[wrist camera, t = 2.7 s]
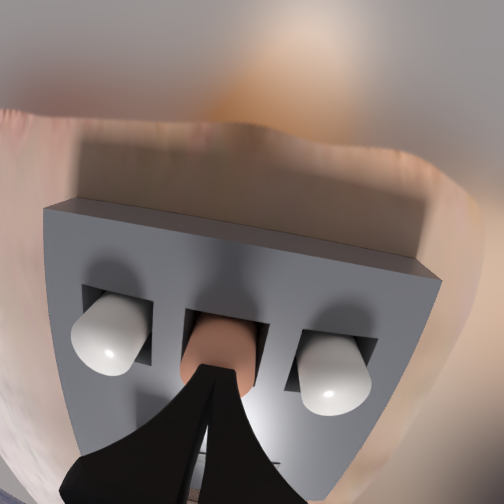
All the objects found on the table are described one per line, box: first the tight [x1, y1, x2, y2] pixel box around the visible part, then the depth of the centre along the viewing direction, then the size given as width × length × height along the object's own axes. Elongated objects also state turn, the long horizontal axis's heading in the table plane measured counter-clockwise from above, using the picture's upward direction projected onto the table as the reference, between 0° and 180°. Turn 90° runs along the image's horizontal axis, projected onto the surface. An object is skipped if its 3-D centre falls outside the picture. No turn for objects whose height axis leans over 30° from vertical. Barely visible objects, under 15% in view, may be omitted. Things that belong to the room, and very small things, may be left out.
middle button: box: [180, 312, 257, 397], centre depth 14 cm, size 3×3×3 cm
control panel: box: [43, 197, 442, 501], centre depth 17 cm, size 18×18×3 cm
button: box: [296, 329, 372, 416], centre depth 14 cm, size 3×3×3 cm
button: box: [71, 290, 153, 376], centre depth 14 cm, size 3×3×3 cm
